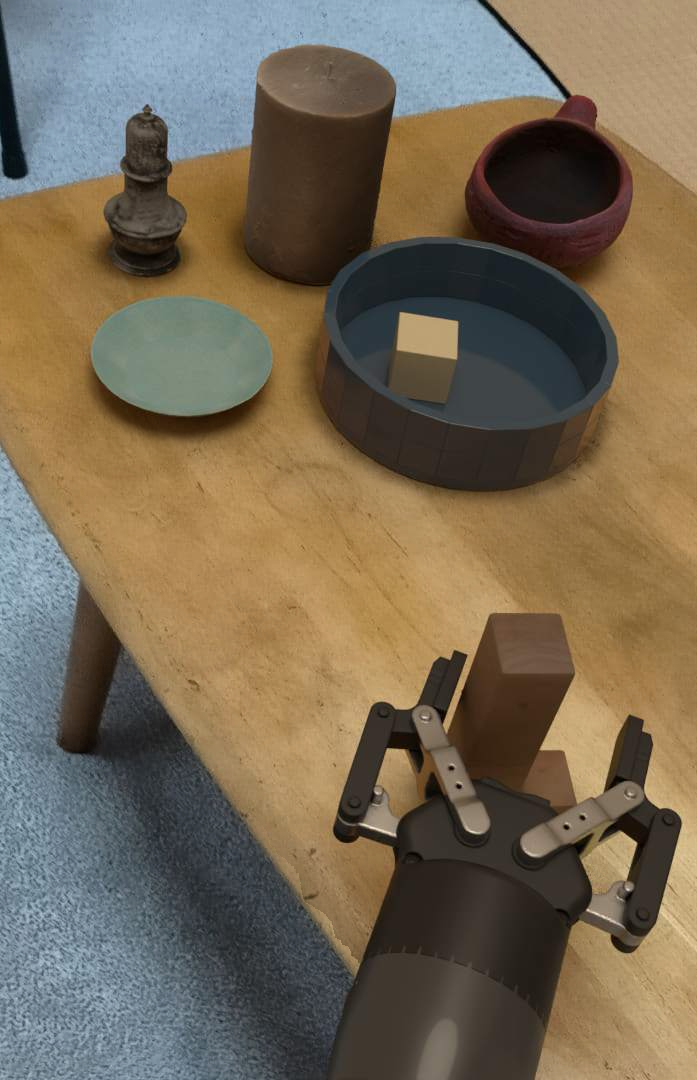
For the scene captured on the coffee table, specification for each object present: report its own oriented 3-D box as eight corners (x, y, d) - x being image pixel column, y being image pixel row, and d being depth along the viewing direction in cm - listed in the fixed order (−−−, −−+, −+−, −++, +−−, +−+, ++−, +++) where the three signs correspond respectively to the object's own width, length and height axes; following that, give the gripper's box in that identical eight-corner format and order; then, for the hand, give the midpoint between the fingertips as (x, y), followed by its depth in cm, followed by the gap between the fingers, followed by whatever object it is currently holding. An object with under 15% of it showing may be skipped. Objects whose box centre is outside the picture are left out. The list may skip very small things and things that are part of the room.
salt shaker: (132, 288, 88) (134, 136, 79) (88, 244, 91) (84, 93, 82) (201, 264, 91) (209, 115, 82) (156, 222, 93) (159, 73, 85)
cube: (446, 366, 86) (458, 320, 83) (445, 404, 83) (457, 359, 80) (390, 357, 86) (399, 311, 83) (386, 395, 83) (396, 349, 80)
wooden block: (434, 845, 62) (502, 673, 51) (425, 787, 64) (488, 610, 53) (559, 842, 63) (652, 673, 52) (546, 785, 65) (633, 611, 54)
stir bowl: (618, 351, 91) (642, 290, 87) (560, 530, 78) (584, 469, 74) (368, 269, 93) (380, 206, 89) (271, 429, 80) (279, 365, 76)
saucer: (136, 460, 77) (137, 434, 75) (63, 345, 83) (61, 318, 81) (301, 411, 82) (305, 385, 80) (220, 305, 88) (222, 279, 86)
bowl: (633, 295, 96) (666, 206, 90) (474, 294, 93) (498, 203, 87) (574, 177, 106) (601, 91, 100) (430, 173, 103) (448, 84, 97)
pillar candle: (388, 276, 93) (425, 92, 82) (266, 294, 90) (287, 104, 78) (340, 202, 99) (368, 20, 87) (223, 216, 95) (237, 29, 84)
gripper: (657, 1051, 44) (719, 701, 54) (284, 902, 46) (414, 591, 56) (597, 1117, 49) (663, 787, 60) (266, 981, 51) (388, 685, 62)
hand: (543, 693), depth 58 cm, fingers open, 8 cm apart
